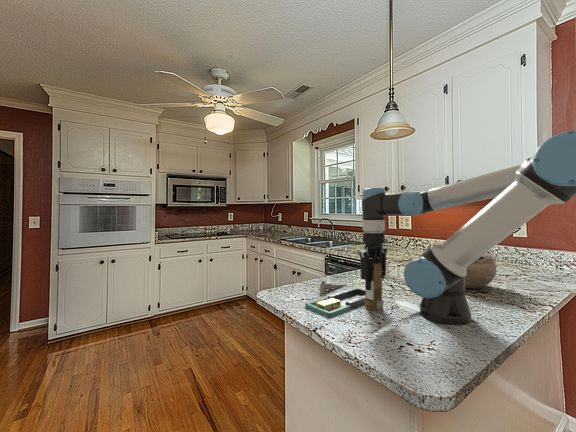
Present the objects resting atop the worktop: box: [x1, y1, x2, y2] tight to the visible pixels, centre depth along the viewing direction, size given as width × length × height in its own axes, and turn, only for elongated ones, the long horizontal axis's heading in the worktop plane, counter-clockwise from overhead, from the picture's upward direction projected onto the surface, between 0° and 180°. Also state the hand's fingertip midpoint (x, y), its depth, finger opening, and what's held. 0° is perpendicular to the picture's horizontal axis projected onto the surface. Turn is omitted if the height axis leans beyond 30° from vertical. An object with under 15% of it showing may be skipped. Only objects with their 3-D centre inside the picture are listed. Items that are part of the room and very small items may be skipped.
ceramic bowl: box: [465, 253, 498, 289], centre depth 125 cm, size 22×22×15 cm
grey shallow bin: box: [326, 286, 366, 310], centre depth 106 cm, size 12×17×3 cm
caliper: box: [319, 280, 349, 295], centre depth 120 cm, size 20×1×6 cm, turn 131°
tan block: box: [315, 300, 333, 312], centre depth 96 cm, size 4×4×3 cm
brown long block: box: [364, 262, 384, 312], centre depth 96 cm, size 6×4×17 cm, turn 38°
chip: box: [325, 298, 342, 311], centre depth 98 cm, size 4×4×3 cm
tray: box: [305, 296, 351, 318], centre depth 97 cm, size 12×10×2 cm
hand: (373, 297), depth 96 cm, fingers closed on brown long block, 4 cm apart
